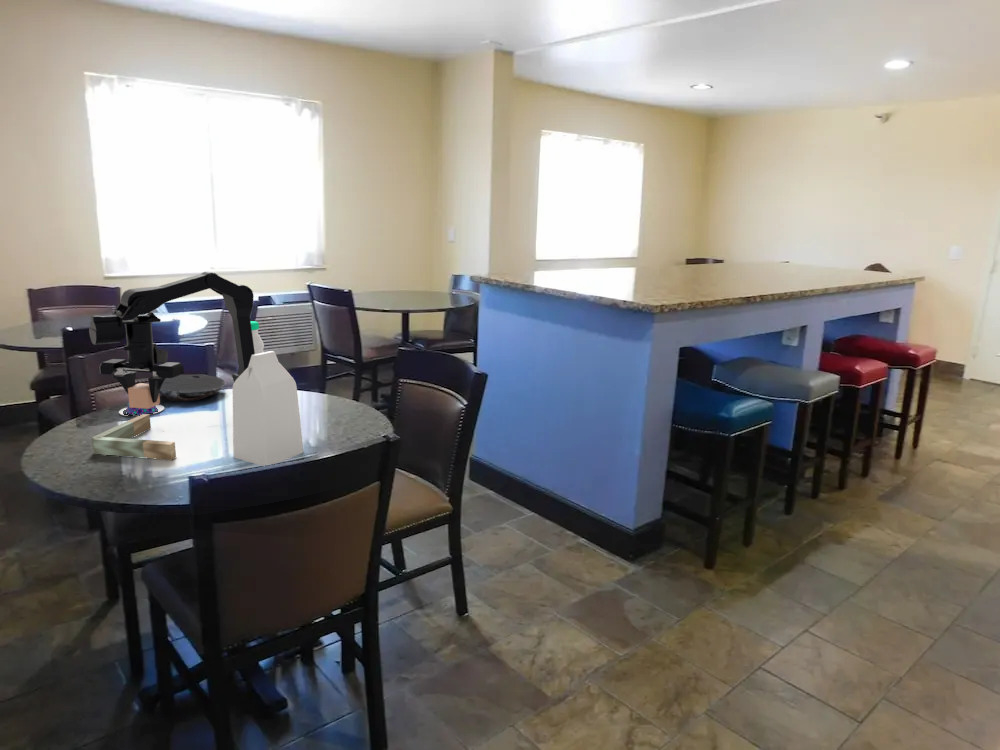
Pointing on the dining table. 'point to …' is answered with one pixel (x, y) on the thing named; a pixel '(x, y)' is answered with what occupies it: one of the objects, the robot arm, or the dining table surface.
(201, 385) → the board
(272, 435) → the milk
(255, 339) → the water bottle
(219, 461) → the dining table surface
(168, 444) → the arena
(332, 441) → the dining table surface
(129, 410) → the pudding
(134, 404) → the cube
